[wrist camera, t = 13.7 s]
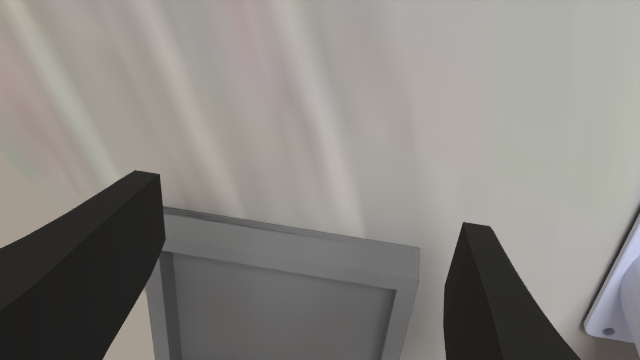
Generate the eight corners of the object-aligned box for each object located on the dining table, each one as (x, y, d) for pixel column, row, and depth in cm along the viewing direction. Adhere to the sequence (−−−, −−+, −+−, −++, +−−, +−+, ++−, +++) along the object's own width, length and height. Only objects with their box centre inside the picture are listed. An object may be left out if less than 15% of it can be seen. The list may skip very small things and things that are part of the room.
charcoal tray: (419, 248, 26) (419, 279, 24) (380, 408, 33) (378, 441, 31) (156, 205, 27) (138, 233, 25) (173, 370, 34) (160, 400, 32)
